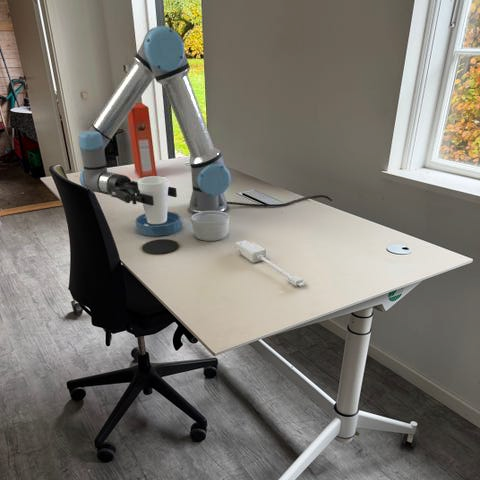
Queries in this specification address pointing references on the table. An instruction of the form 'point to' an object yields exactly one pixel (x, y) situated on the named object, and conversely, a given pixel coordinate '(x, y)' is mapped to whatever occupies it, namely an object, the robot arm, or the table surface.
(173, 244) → the mat
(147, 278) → the table surface
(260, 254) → the charging cable
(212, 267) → the table surface
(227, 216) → the ramekin
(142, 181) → the foam cup
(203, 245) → the table surface
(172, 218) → the bowl
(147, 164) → the file binder
